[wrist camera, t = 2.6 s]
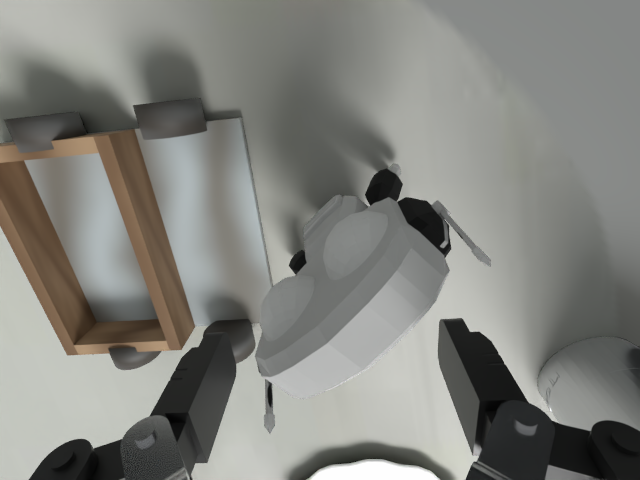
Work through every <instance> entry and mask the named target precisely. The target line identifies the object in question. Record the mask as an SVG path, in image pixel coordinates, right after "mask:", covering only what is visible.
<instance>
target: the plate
mask: <svg viewBox="0 0 640 480" xmlns="http://www.w3.org/2000/svg"><path fill="white" fill-rule="evenodd" d="M306 480H440V479H439V478H438V477H437V476H436V475H435V474H434V473H433V472H432V471H430V470H427V469H425V468H422V467H419V466H414V465H403V464H397V463H394V462H390V461H387V460H383V459H365V460H361V461H357V462H353V463H348V464H334V465H330V466H327V467H324V468H321V469H319V470H318V471H317V472H315V473H314V474H313V475H312V476H311V477H310V478H308V479H306Z"/></svg>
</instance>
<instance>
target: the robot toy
mask: <svg viewBox="0 0 640 480" xmlns="http://www.w3.org/2000/svg"><path fill="white" fill-rule="evenodd" d="M400 174H401V169H400V167H399V165H398V164H395V163H394V164H392V165H391V166H390V167H389V168H388V169H384V170H381V171H379V172H378V173H376V174H375V175H374V177H373V178H372V180H371V182H370V184H369V187H368V189H367V191H366V194H365V196H366V198H367V200H368V202H369V204H370V206H369V207H368V206H367V205H366V204H364V203H363V202H362V201H361V200H360V199H359V198H358V197H357V196H341V195H340V194H339V195H335V196H334V197H333V198H332V199H331V200H329V201H328V202H327V203H326V204H325V205H324V206H323V207H322V208H321V209H320V210H319V211H318V212H317V213H316V214H315V215H314V217H313V218H312V219H311V220H310V221H309V222H308V223H307V224H306V226H305V227H304V228H303V238H304V239H305V240H304V243H305V251H303V250H301V251H299V252H298V253H296V254H295V255H294V256H293V258H292V259H291V261H290V264H289V267H290V268H291V269H292V271H293V272H294V273H295V274H296V275H295V276H292V277H287V278H285V279H283V280H282V281H280V282H278V283H277V284H275V285H274V286H273V287H272V288H271V289H270V291H269V292H268V294H267V295H266V297H265V298H264V300H263V302H262V305H261V313H260V326H261V329H262V335H261V338H260V341H259V345H258V348H257V351H256V354H255V358H256V361H257V365H258V369H259V372H260V373H261V376H262V377H263V378H265V398H266V415H264V426H265V428H266V429H267V430H268V432H269V433H271V431H272V429H273V428H274V426H275V415H273V399H272V384H274V385H275V386H277V387H278V388H280V389H281V390H283V391H284V392H285V393H287V394H288V395H290V396H291V397H293V398H299V399H306V398H311V397H313V396H316V395H318V394H320V393H323V392H325V391H327V390H330V389H333V388H335V387H337V386H339V385H341V384H343V383H344V382H346V381H348V380H350V379H351V378H353V377H355V376H357V375H358V374H360V373H362V372H364V371H365V370H367V369H369V368H371V367H372V366H373V365H374V364H375V363H376V362H377V361H379V360H380V359H381V358H382V357H383V356H384V355H385V354H386V353H387V352H388V351H389V350H390V349H392V348H393V347H394V346H395V345H396V344H397V343H398V342H399V341H400V340H401V339H402V338H403V337H405V336H406V335H407V334H408V333H409V332H410V331H411V329H412V328H413V327H414V326H415V325H416V324H417V323H418V322H419V320H420V319H421V318H422V317H423V316H424V315H425V314H426V313H427V311H428V310H429V309H430V308H431V306H432V305H433V304H434V303H435V301H436V299H437V297H438V295H439V293H440V291H441V289H442V286H443V284H444V282H445V280H446V278H447V275H448V273H449V271H450V270H449V268H448V265H447V263H446V260H445V257H446V256H447V254H448V253H449V251H450V250H451V244H450V238H449V225H448V224H447V222H448V223H449V224H450V225H451V226H452V227H453V229H454V230H455V231H456V232H457V233H458V234H459V236H460V237H461V238H462V239H463V240H464V241H465V243H466V244H467V245H468V246H469V247H470V248H471V250H472V253H473V254H474V255H475V256H476V257H477V258H478V260H479V261H481V262H482V263H483V264H484V265H486V266H490V267H491V260H490V259H489V258H488V257H487V255H486V254H485V253H484V252H483V251H482V250H481V249H480V248H479V247H478V246H476V245H475V244H474V243H473V242H472V240H471V239H470V238H469V237H468V236H467V235H466V234H465V233H464V232H463V230H462V229H461V228H460V227H459V226H458V225H457V224H456V223H455V221H454V220H453V219H452V218H451V217H450V216H449V215H450V214H451V213H450V212H449V211H448V210H447V209H446V208H445V207H444V206H443V205H442V204H441V203H440V202H439V201H438V200H437V201H436V202H435V203H433V204H432V205H430V204H429V203H428V202H427V201H423V200H418V199H414V198H408V197H406V198H404V199H402V200H400V201H398V202H396V201H397V200H398V198H399V195H400V192H401V188H402V185H403V184H402V182H401V180H400V179H399V177H398V176H399V175H400ZM444 219H446V221H447V222H446V221H445V220H444Z"/></svg>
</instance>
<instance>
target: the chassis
mask: <svg viewBox="0 0 640 480" xmlns="http://www.w3.org/2000/svg"><path fill="white" fill-rule="evenodd" d="M133 107H134V111H135V114H136V117H137V121H138V124H139V127H140V128H136V129H126V130H117V131H107V132H98V133H88V134H86V131H85V128H84V125H83V123H82V120H81V117H80V115H79V112H70V113H61V114H52V115H43V116H34V117H25V118H16V119H7V120H4V121H5V123H6V125H7V128H8V130H9V132H10V134H11V136H12V139H13V142H3V143H0V226H1V228H2V230H3V232H4V234H5V236H6V238H7V240H8V242H9V243H10V245H11V247H12V249H13V251H14V253H15V255H16V257H17V259H18V261H19V263H20V265H21V267H22V269H23V271H24V272H25V274H26V276H27V278H28V280H29V282H30V284H31V286H32V288H33V290H34V292H35V294H36V296H37V298H38V299H39V301H40V303H41V305H42V307H43V309H44V311H45V313H46V315H47V317H48V319H49V321H50V323H51V325H52V327H53V328H54V330H55V332H56V334H57V336H58V338H59V340H60V342H61V344H62V346H63V348H64V350H65V352H66V354H67V355H83V354H105V353H110V355H111V358H112V360H113V362H114V364H115V366H116V367H117V368H118V369H121V370H131V369H135V368H138V367H141V366H143V365H145V364H147V363H149V362H151V361H152V360H153V359H155V358H156V357H157V356H158V355H159V354H160V352H161V351H168V350H182V348H183V346H184V345H185V343H186V341H187V340H188V338H189V336H190V334H191V333H192V331H193V329H194V328H195V326H208V327H207V328H206V330H205V331H204V334H203V337H204V335H205V334H206V333H216V332H227V334H228V336H229V339H230V343H231V347H232V350H233V354H234V358H235V362H236V363H239V362H241V361H243V360H244V359H246V358H247V357H248V356H250V354H251V353H252V352H253V350H254V348H255V339H254V334H253V330H252V326H251V323H260V313H261V305H262V302H263V300H264V298H265V297H266V295H267V294H268V292H269V291H270V289H271V288H272V287H273V284H272V279H271V273H270V268H269V262H268V257H267V251H266V246H265V241H264V235H263V230H262V224H261V219H260V213H259V208H258V202H257V197H256V192H255V186H254V181H253V175H252V170H251V164H250V159H249V154H248V148H247V143H246V137H245V132H244V126H243V121H242V117H240V118H230V119H221V120H211V121H205V118H204V113H203V109H202V104H201V100H200V98H195V99H186V100H177V101H168V102H159V103H150V104H141V105H133Z"/></svg>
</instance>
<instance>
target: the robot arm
mask: <svg viewBox="0 0 640 480" xmlns="http://www.w3.org/2000/svg"><path fill="white" fill-rule="evenodd" d="M438 359H439V365H440V368H441V371H442V374H443V377H444V379H445V382H446V385H447V387H448V390H449V393H450V395H451V398H452V401H453V404H454V406H455V409H456V412H457V414H458V417H459V420H460V422H461V425H462V428H463V430H464V433H465V436H466V439H467V441H468V444H469V447H470V449H471V452H472V455H473V456H479V458H478V460H477V462H473V464H472V465H471V468H470V470H469V472H468V475H467V477H466V480H640V346H637V345H635V344H633V343H631V342H630V341H628V340H627V339H623V338H621V337H618V338H615V337H594V338H589V339H584V340H581V341H578V342H575V343H572V344H570V345H569V346H567V347H565V348H563V349H561V350H560V351H558V352H557V353H556V354H554V355H553V356H552V357H551V358H550V359H549V360H548V361H547V362H546V363H545V365H544V366H543V368H542V369H541V371H540V374H539V377H538V389H539V393H540V394H541V396H542V397H543V399H544V401H545V402H546V404H547V406H548V408H549V409H550V411H552V413H553V415H554V416H555V418H556V419H557V421H558V422H559V423H556V422H554V421H552V420H551V419H550V418H549V417H548V415H547V414H546V413H545V412H543V411H542V410H541V409H539V408H538V407H536V406H534V405H532V404H530V403H529V402H528V401H527V399H526V398H525V396H524V394H523V393H522V391H521V390H520V388H519V386H518V385H517V383H516V381H515V380H514V378H513V376H512V375H511V373H510V371H509V370H508V368H507V366H506V365H504V361H503V360H502V358H501V357H500V355H499V354H498V352H497V350H496V348H495V347H494V345H493V343H492V342H491V341H490V340H489V339H488V338H487V337H485V336H484V335H483V334H482V333H480V332H470V331H469V329H468V328H467V326H466V324H465V322H464V320H463V319H462V318H457V319H441V320H440V322H439V340H438ZM235 377H236V362H235V358H234V354H233V350H232V347H231V343H230V339H229V336H228V334H227V332H216V333H206V334H205V335H204V337H203V339H202V341H201V343H200V345H199V347H194V348H191V349H190V350H189V351H188V352H187V353H186V354H185V355H184V356H183V357H182V358H181V360H180V362H179V364H178V366H177V367H176V371H174V373H173V375H172V376H171V378H170V381H169V382H168V384H167V386H166V387H165V389H164V391H163V393H162V395H161V397H160V398H159V400H158V402H157V404H156V406H155V408H154V409H153V411H152V413H151V415H150V416H149V417H147V418H145V419H142V420H141V421H139V422H137V423H136V424H135V425H133V426H132V427H131V428H130V429H129V430H128V431H127V432H126V434H125V435H124V437H123V439H121V440H118V441H115V442H112V443H109V444H106V445H103V446H100V447H97V448H94V449H93V447H92V445H91V444H90V442H89V441H87V440H85V439H76V440H72V441H69V442H67V443H65V444H63V445H61V446H59V447H58V448H56V449H55V450H53V451H52V452H51V453H50V454H49V455H48V456H47V457H46V458H45V459H44V460H43V461H42V462H41V463H40V465H39V466H38V468H37V469H36V470H35V472H34V473H33V475H32V476H31V477H30V479H29V480H193V478H192V476H191V473H192V470H193V468H194V465H195V463H207V462H208V459H209V456H210V453H211V450H212V447H213V444H214V441H215V438H216V435H217V432H218V429H219V426H220V423H221V420H222V417H223V414H224V411H225V408H226V405H227V402H228V399H229V396H230V393H231V390H232V387H233V384H234V380H235Z"/></svg>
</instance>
